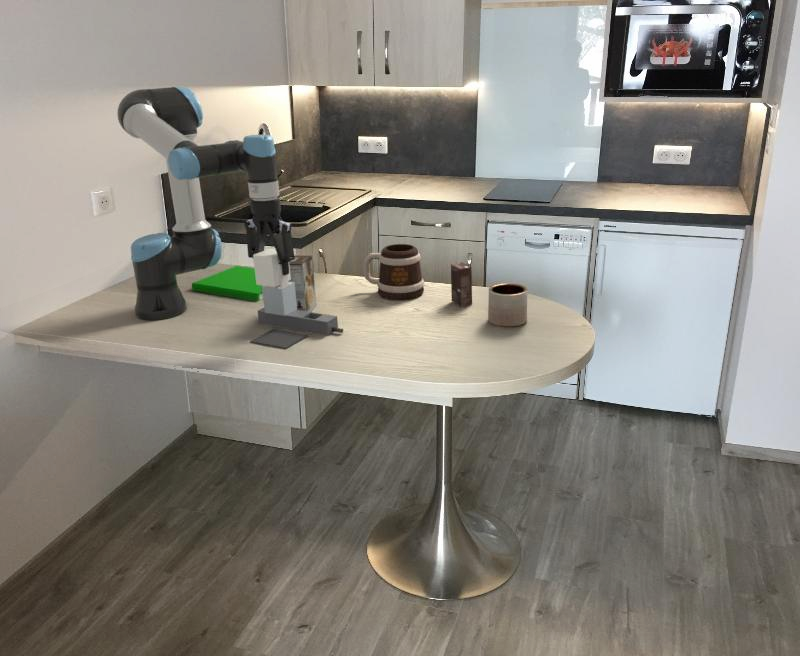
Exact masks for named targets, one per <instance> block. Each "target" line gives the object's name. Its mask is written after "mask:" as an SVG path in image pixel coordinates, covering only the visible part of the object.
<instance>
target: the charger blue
mask: <svg viewBox="0 0 800 656" xmlns="http://www.w3.org/2000/svg"><path fill="white" fill-rule="evenodd" d="M288 283H289V285H288V286H286V287H284V288H280V287H279V288H277V289H270V288H265V286H262V292H263V299H262V300H263V308H264V310H265V313H270V314H276V315H282V316H285V315H287V314H289V313H291V312H293V311H295V310H297V302H296V291H295V283H294V282H288Z"/></svg>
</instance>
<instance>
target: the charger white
mask: <svg viewBox="0 0 800 656" xmlns="http://www.w3.org/2000/svg"><path fill="white" fill-rule="evenodd" d="M252 260H253V265H254V266H253V268H255V277H256V285H263V286H265V288H270V289H277V288H279V287H280V281H279V271H278V263H279V262H280V260H279V258H278V255H277V252H276V249H275V248H267V249H264V251H262V252H259V253H257V254H254V255H253V258H252ZM289 280H291V276H290V266H289V274H288V281H289Z"/></svg>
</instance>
